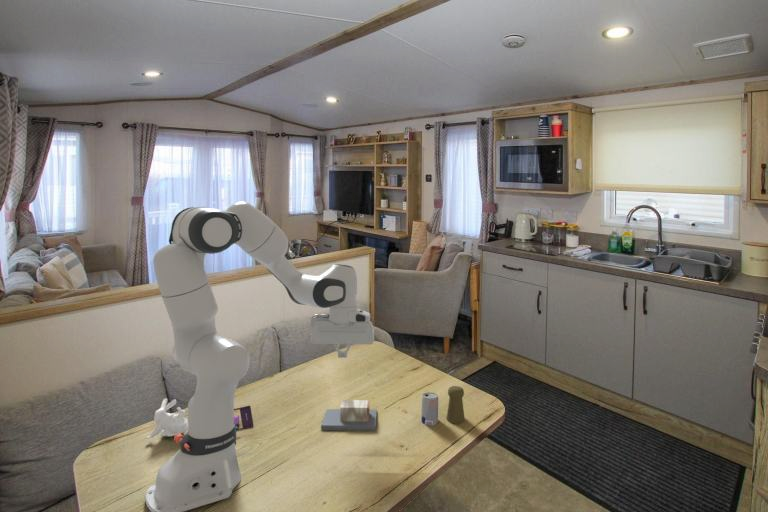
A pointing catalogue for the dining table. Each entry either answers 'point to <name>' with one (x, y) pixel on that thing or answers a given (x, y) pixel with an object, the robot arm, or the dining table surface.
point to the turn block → (354, 410)
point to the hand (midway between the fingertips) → (342, 357)
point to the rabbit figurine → (169, 421)
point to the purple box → (244, 418)
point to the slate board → (334, 423)
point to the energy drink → (430, 409)
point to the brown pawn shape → (455, 405)
